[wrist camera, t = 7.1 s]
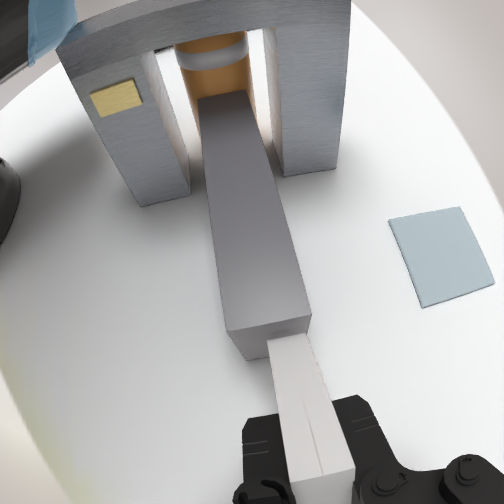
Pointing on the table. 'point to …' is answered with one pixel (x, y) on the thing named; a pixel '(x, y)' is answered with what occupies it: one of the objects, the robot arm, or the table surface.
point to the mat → (441, 255)
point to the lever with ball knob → (242, 198)
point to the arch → (157, 100)
